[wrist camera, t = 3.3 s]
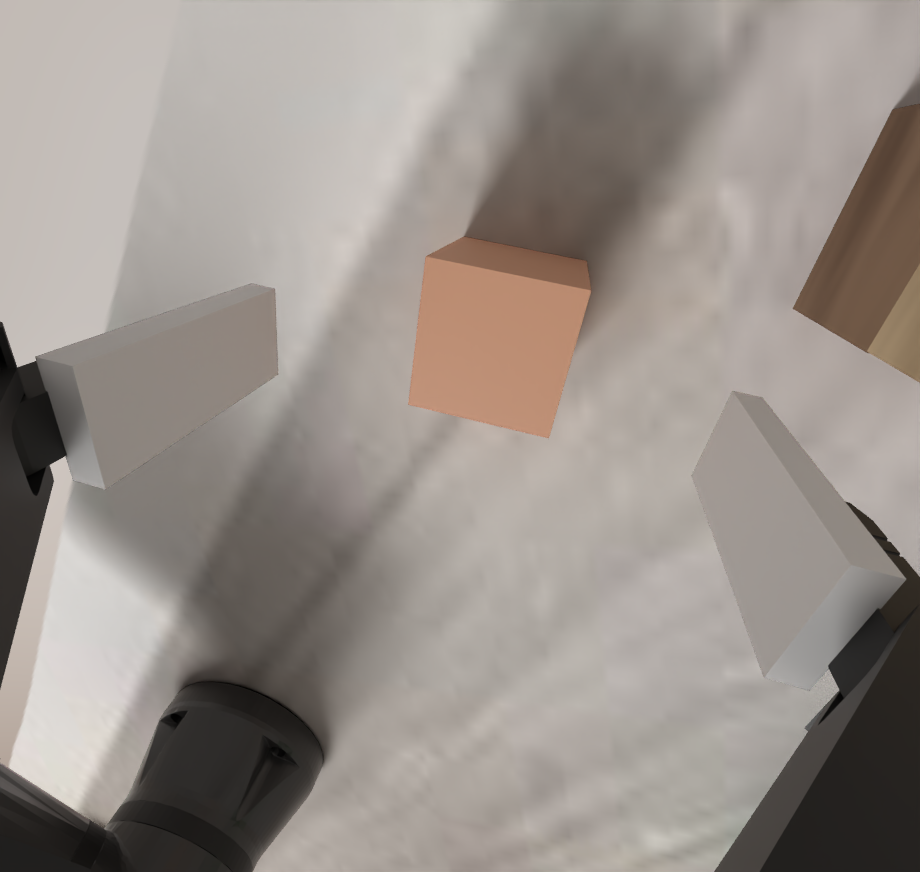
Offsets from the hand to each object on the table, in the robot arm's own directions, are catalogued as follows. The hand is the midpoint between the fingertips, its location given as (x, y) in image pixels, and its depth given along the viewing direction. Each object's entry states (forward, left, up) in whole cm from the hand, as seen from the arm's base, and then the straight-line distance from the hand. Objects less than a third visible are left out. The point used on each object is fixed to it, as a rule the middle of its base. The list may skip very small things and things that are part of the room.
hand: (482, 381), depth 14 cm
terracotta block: (0, 0, -10) cm, 10 cm away
